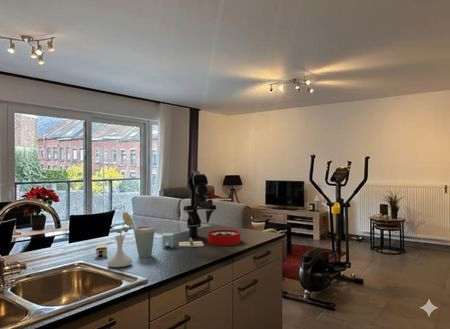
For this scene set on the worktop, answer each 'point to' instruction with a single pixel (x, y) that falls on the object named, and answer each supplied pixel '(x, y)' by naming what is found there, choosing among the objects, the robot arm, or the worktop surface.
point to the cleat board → (191, 243)
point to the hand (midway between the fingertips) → (200, 223)
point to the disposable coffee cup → (144, 240)
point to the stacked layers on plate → (101, 250)
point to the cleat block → (167, 239)
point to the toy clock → (224, 237)
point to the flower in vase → (120, 257)
